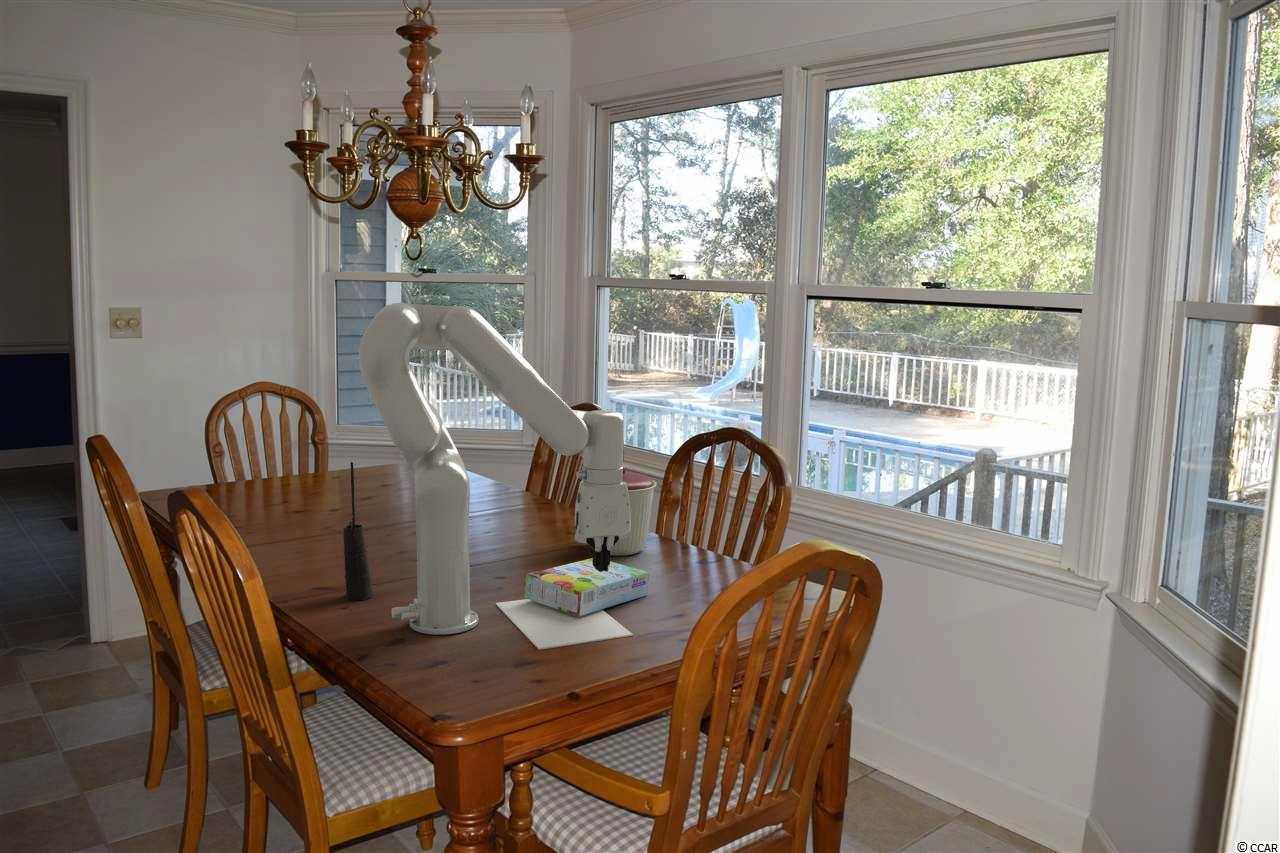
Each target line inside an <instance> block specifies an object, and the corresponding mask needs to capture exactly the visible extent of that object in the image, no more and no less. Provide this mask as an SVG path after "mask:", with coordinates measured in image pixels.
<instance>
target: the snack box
mask: <svg viewBox="0 0 1280 853" xmlns="http://www.w3.org/2000/svg"><path fill="white" fill-rule="evenodd" d="M649 576H650V572H649V571H647V570H642V569H639V568H636V567H631V566H628V565H625V564H622V563H618V562H614V561H611V560H610V565H608V571H603V572H599V571H598V570H596V569H595V568H594V566H593V557H592V558H588V559H584V560H579V561H575V562H571V563H567V564H564V565H559V566H554V567H550V568H545V569H541V570H537V571H532V572H530V573H529V572H528V573H526V574H525V585H524V596H523V597H524V599H529V600H532V601H535V602H538V603H541V604H544V605H547V606H549V607H552V608H555V609H558V610H561V611H564V612H567V613H570V614H572V615H575V616H578V617H579V616H583V615H586V614H589V613H592V612H595V611H598V610H601V609H602V610H605V609H607V608H610V607H613V606H617V605H620V604H624V603H627V602H630V601H633V600H637V599H639V598H642V597H646V596H648V595H649V582H650V581H649V580H650V577H649Z"/></svg>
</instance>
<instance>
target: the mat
mask: <svg viewBox="0 0 1280 853" xmlns="http://www.w3.org/2000/svg"><path fill="white" fill-rule="evenodd" d="M495 605H496V607H497V608H499V610H500V611H501V612H502V613H503V614H504V615H505V616H506V617H507V618H508V619H509V620H510V621H511V622H512V623H513V624H514V625H515V626H516V627H517V629H519V631H520V632H521V633H522V634H523V635H524V636H525V637H526V638H527V639H528V640H529V642H531V643H532V645H533V646H535V648H536V649H537V650H539V651H541V650H546V649H547V650H548V649H553V648H561V647H566V646H572V645H573V646H574V645H580V644H586V643H593V642H600V641H605V640H606V641H607V640H612V639H620V638H626V637H627V638H628V637H633V635H634V634H633V633H632V632H631V631H630V630H628V629H627V628H626V627H625V626H624V625H622V624H621V623H619V622H618V621H617V620H616V619H615V618H613V617H612V616H611V615H610V614H608V613H607V612H606V611H604V609H601V610H598V611H595V612H592V613H589V614H586V615H583V616H579V617H578V616H575V615H572V614H570V613H567V612H564V611H561V610H558V609H555V608H552V607H549V606H547V605H544V604H541V603H538V602H535V601H532V600H529V599H525V598H524V599H517V600H510V601H502V602H500V601H499V602H495Z"/></svg>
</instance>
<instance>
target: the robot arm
mask: <svg viewBox="0 0 1280 853" xmlns="http://www.w3.org/2000/svg"><path fill="white" fill-rule="evenodd" d="M411 350H421V351H422V350H426V351H449V352H450V353H451V354H452V355H453V356H454V357H455V358H456V359H457V360H458V361H460V363H461V364H462V365H464V367H466V368H467V369H468V370H469V371H470V372H471V373H472V374H473V375H474V376H475V377H476V379H478V380H479V381H480V382H481V383H482V384H483V385H484V386H485V387H486V388H487V389H488V390H489V391H490V392H491V393H492V394H493V395H494V396H495V397H496V398H497V399H498V400H499V401H501V403H503V404H504V405H505V406H507V407H508V408H509V409H511V410H512V411H513V412H514V414H516V415H518V417H519V418H521V420H522V421H524V423H525V424H527V425H528V427H530V429H532V431H534V432H535V433H536V434H537V435H538V436H539V437H540V438H541V439H542V440H543V441H544V442H545V443H546V444H547V445H548V446H549V447H550V448H551V449H552V450H553V451H554V452H555V453H557V454H558V455H561V456H567V457H568V456H575V455H577V454H579V453H581V452H582V451H583V454H582V455H583V456H582V458H583V459H582V462H583V463H582V467H581V470H580V471H576V473H575V474H576V475H575V477H576V479H581V481H582V480H583V482H581V481H580V482H581V483H580V482H579V484H578V491H577V494H576V501H575V510H574V530H575V535H574V541H576V542H577V543H581V544H587V545H588V546H589V547H590V548H591V549H592V558H593V566H594V568H595V569H596V570H598V571H599V572H603V571H608V565H610V561H611V555H610V551H611V550H612V549H613V546H614V545H615V544H616V543H617V541H618V540H621V539H624V538H627V537H628V532H629V531H630V528H631V514H630V501H629V493H628V487H627V483H626V482H623V465H624V434H625V433H624V431H625V430H624V429H625V428H624V424H625V423H624V422H625V420H624V419H625V418H624V417H623V414H622V413H620V412H619V411H616V410H607V409H604V410H603V409H601V410H599V409H597V410H591V411H590V410H589V411H586V410H577V409H576V410H575V409H572V408H571V407H570V406H569V405H568V404H567V403H566V402H565V401H564V400H563V399H562V398H561V397H559V395H558V394H557V393H556V392H555V391H554V390H553V389H552V388H551V387H550V386H549V385H548V384H547V383H546V381H544V379H543V378H542V377H541V376H540V374H538V372H537V371H536V370H535V368H534V367H533V366H532V365H531V364H530V363H529V362H528V361H527V360H526V359H525V358H524V357H523V356H522V355H521V353H519V352H518V351H517V350H516V348H514V347H513V346H512V345H511V344H510V343H509V341H507V340H506V339H505V338H504V337H503V335H501V334H500V333H499V332H498V331H497V330H496V328H494V326H492V325H491V324H490V323H489V322H488V321H487V320H486V319H485V318H484V317H483V316H482V315H481V314H480V313H479V312H477V310H474V309H473V308H471V307H469V306H464V305H436V304H422V303H421V304H420V303H419V304H418V303H405V302H404V303H403V302H402V303H401V302H395V303H390V304H388V305H385V306H384V307H382V308H381V309H380V310H379V311H378V312H377V313H376V315H375V316H374V317H373V319H372V320H371V321H370V323H369V325H368V326H367V328H366V329H365V331H364V333H363V335H362V337H361V339H360V344H359V348H358V364H359V370H360V374H361V377H362V379H363V382H364V384H365V387H366V389H367V390H368V393H369V394H370V397H371V399H372V400H373V403H374V405H375V408H376V410H377V411H378V414H379V415H380V417H381V420H382V421H383V423H384V425H385V427H386V429H387V432H388V435H389V438H390V441H391V442H392V443H393V445H394V446H395V448H397V449H398V450H399V451H400V452H401V454H402V456H403V458H404V459H405V462H406V464H407V465H408V467H409V469H410V472H411V474H412V475H413V477H414V485H415V486H414V493H415V494H414V495H415V496H414V497H415V524H416V525H415V530H416V531H415V534H416V535H415V537H416V538H415V539H416V571H417V573H416V578H417V579H416V580H417V583H416V584H417V598H413V603H409V604H408V606H396V607H392V608H391V617H392V619H397V618H398V619H399V618H401V621H406V620H407V621H408V620H409V627H410V628H411V629H412V630H413V631H415V632H418V633H420V634H425V635H435V636H436V635H437V636H438V635H440V636H441V635H453V634H458V633H459V634H460V633H464V632H466V631H469V630H472V629H473V628H475V627H476V626H477V625H478V623H479V614H478V613H477V612H476V611H474V610H473V609H471V593H470V592H471V590H470V589H471V588H470V587H471V583H470V582H471V581H470V580H471V578H470V574H471V573H470V568H471V566H470V501H471V500H470V499H471V498H470V497H471V487H470V486H471V485H470V478H469V474H468V471H467V469H466V466H465V463H464V461H463V458H462V457H461V455H460V453H459V451H458V449H457V447H456V445H455V443H454V441H453V439H452V437H451V436H450V433H449V431H448V429H447V427H446V426H445V422H444V421H443V419H442V417H441V415H440V413H439V412H438V410H437V408H436V407H435V406H434V405H433V404H432V403H430V402H429V401H428V399H427V397H426V395H425V393H424V391H423V389H422V388H421V386H420V384H419V380H418V378H417V377H416V375H415V372H414V371H413V369H412V365H411V364H410V352H411ZM600 537H603V539H602V545H601V541H600Z"/></svg>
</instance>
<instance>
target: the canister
mask: <svg viewBox="0 0 1280 853" xmlns="http://www.w3.org/2000/svg"><path fill="white" fill-rule="evenodd" d="M581 482H583V480H582V479H581V481H580V482H579V484H580V483H581ZM623 482H626V483H627V487H628V493H629V501H630V514H631V528H630V531H629V532H628V537H627V538H624V539H621V540H618V541H617V543H616V544H615V545H614V546H613V549H612V550H611V551H610V556H614V557H616V556H619V557H620V556H621V557H623V556H630V555H634V554H637V553H640V552H642V550H643V549H644V548H645V546H646V543H647V540H648V535H649V527H650V522H651V515H652V514H651V513H652V506H653V498H654V490H655V488H656V487H657V482H656V481H655V480H653V479H651V478H650V476H648V475H645V474H641V473H635V472H628V471H627V467H626V466H625V464H623ZM602 539H603V537H600V541H601V545H602Z"/></svg>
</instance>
